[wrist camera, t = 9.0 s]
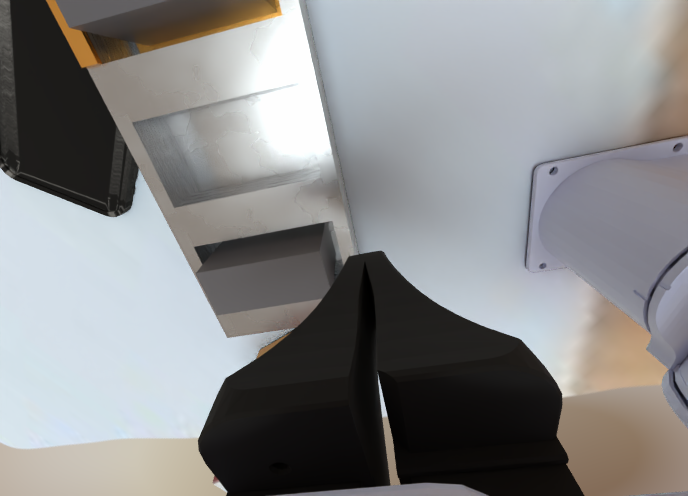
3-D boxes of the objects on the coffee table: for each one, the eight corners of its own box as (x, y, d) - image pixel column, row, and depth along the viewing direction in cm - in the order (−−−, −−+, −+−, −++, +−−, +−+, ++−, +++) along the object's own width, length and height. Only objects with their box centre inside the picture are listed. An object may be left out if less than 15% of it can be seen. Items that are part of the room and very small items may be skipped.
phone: (-4, 172, 19) (-27, -147, 13) (14, 168, 20) (1, -129, 14) (124, 223, 21) (161, -40, 14) (135, 217, 22) (174, -32, 15)
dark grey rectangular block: (326, 215, 20) (319, 251, 15) (336, 254, 21) (332, 297, 17) (228, 234, 21) (195, 273, 16) (243, 270, 22) (216, 315, 18)
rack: (267, -180, 13) (233, -290, 9) (365, 284, 23) (368, 319, 20) (57, -107, 14) (-49, -178, 10) (244, 304, 24) (225, 341, 21)
